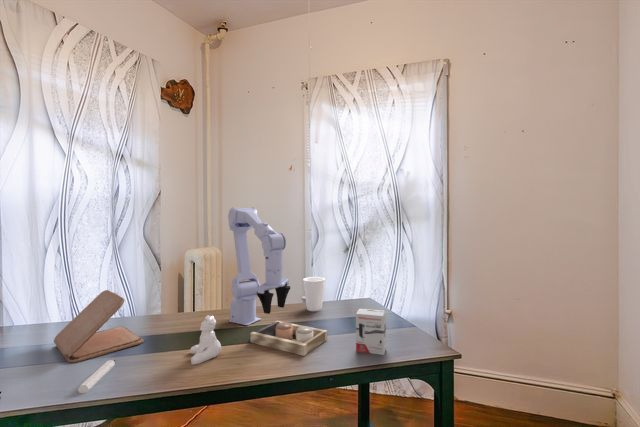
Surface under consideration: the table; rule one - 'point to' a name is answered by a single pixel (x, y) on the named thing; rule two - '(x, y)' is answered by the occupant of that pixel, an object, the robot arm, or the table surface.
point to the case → (83, 338)
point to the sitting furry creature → (206, 342)
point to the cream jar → (304, 334)
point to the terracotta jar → (284, 330)
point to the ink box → (371, 331)
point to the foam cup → (314, 292)
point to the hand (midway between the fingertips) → (274, 310)
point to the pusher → (269, 329)
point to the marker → (96, 376)
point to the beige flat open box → (290, 345)
